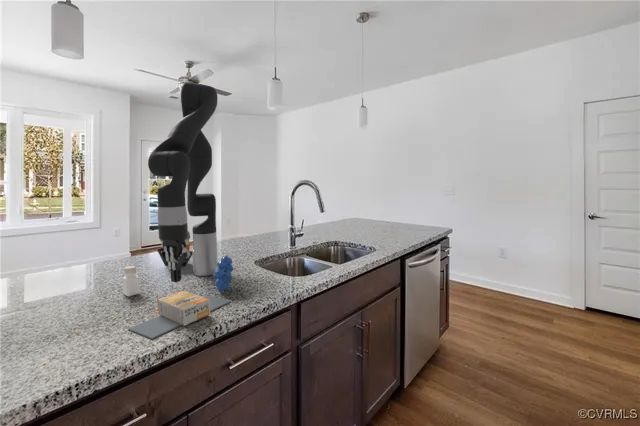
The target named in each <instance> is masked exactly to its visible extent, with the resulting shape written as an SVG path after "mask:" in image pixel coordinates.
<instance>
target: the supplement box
mask: <svg viewBox="0 0 640 426" xmlns="http://www.w3.org/2000/svg"><path fill="white" fill-rule="evenodd" d="M157 310H158V312H157V313H158V315H159V316H160V315H162V316H164V317H166V318H168V319H171V320H173V321H175V322H177V323H179V324H181V325H182V326H187V325H190V324H191V323H194V322H196V321H199V320H201V319H203V318H205V317H208V316H210V315H211V312H210V300H209V299H206V298H204V297H203V296H200V295H197V294H194V293H191V292H188V291H186V290H181V291H179V292H175V293H172V294H169V295H167V296H164V297H160V298H157Z"/></svg>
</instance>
